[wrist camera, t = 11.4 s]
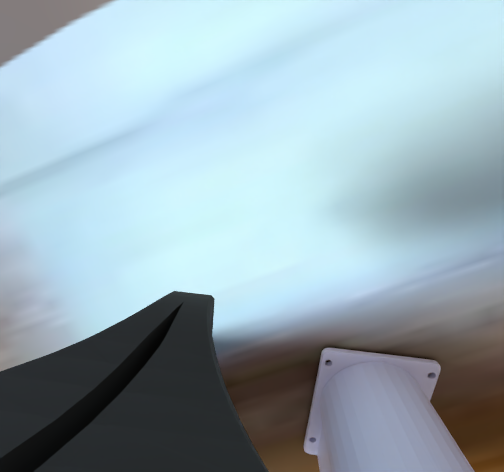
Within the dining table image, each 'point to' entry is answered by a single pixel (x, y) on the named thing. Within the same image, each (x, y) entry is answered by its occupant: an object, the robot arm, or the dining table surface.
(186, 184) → the dining table surface
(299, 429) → the dining table surface
